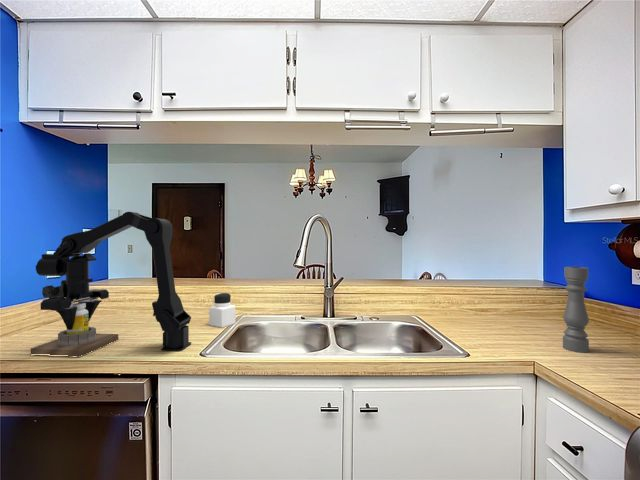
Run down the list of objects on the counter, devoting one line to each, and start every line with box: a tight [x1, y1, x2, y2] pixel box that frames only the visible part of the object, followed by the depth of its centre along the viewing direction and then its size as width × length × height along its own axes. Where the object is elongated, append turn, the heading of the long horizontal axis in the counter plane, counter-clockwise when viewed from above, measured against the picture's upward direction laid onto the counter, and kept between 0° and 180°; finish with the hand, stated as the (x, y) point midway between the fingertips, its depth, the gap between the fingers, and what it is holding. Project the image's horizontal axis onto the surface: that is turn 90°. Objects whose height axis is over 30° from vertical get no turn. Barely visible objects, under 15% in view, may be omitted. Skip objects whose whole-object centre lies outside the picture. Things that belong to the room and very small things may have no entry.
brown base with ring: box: [30, 326, 119, 356], centre depth 96 cm, size 15×15×5 cm
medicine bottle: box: [208, 292, 236, 329], centre depth 122 cm, size 7×7×12 cm
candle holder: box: [562, 266, 590, 354], centre depth 96 cm, size 6×6×25 cm
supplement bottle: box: [66, 302, 90, 335], centre depth 96 cm, size 5×5×10 cm
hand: (77, 326), depth 96 cm, fingers closed on supplement bottle, 5 cm apart
